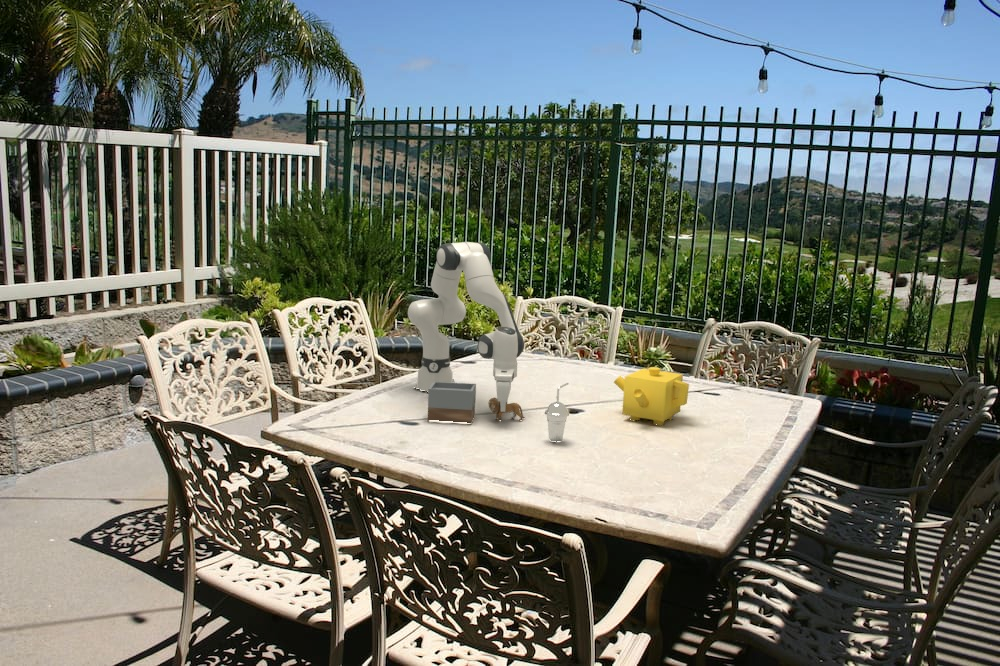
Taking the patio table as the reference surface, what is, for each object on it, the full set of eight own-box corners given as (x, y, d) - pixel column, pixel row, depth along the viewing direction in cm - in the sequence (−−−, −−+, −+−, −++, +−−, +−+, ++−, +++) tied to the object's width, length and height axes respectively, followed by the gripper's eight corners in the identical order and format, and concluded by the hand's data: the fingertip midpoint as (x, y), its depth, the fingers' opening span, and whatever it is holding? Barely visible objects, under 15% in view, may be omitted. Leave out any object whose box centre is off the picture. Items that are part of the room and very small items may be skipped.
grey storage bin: (433, 399, 306) (433, 381, 305) (475, 401, 305) (475, 383, 304) (428, 407, 295) (428, 388, 293) (471, 410, 293) (472, 391, 292)
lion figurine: (490, 423, 297) (491, 399, 296) (485, 419, 302) (486, 396, 301) (527, 421, 302) (528, 398, 301) (522, 417, 307) (523, 394, 305)
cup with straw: (539, 438, 281) (541, 382, 278) (562, 436, 284) (565, 381, 281) (549, 445, 273) (552, 388, 270) (573, 443, 276) (576, 386, 273)
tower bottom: (432, 415, 307) (433, 399, 306) (474, 417, 306) (475, 401, 305) (427, 423, 295) (427, 407, 294) (471, 426, 294) (471, 410, 293)
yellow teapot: (629, 403, 335) (632, 355, 331) (698, 415, 320) (702, 365, 317) (594, 421, 305) (597, 369, 302) (668, 435, 290) (673, 380, 287)
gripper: (498, 365, 309) (497, 401, 311) (494, 376, 289) (493, 414, 291) (515, 366, 308) (514, 401, 310) (512, 377, 288) (510, 415, 290)
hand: (503, 408), depth 300 cm, fingers open, 8 cm apart
